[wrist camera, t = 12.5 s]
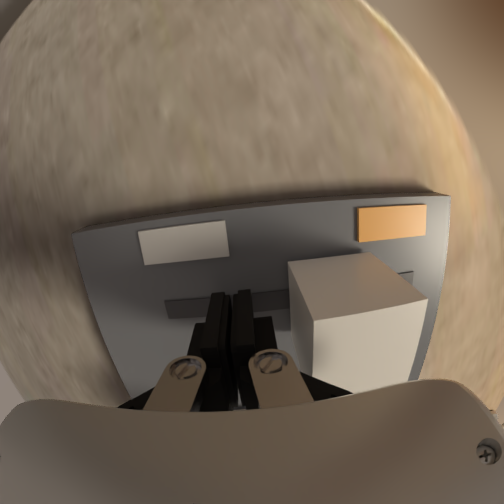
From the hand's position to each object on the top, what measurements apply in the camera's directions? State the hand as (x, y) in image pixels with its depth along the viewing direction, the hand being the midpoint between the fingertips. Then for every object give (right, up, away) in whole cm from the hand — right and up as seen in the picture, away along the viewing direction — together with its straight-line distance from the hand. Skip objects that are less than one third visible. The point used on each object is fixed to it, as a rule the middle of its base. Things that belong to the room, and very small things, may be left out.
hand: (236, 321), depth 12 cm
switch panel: (+2, -3, +4) cm, 6 cm away
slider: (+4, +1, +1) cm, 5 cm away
